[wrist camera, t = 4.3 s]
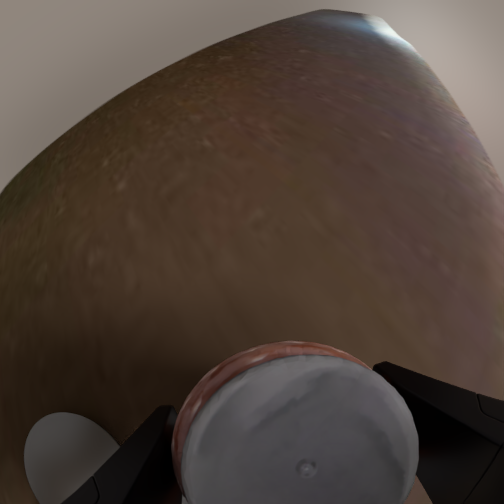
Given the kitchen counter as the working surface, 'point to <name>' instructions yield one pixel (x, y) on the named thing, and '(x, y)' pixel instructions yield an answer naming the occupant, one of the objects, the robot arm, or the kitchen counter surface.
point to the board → (65, 455)
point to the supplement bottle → (294, 431)
